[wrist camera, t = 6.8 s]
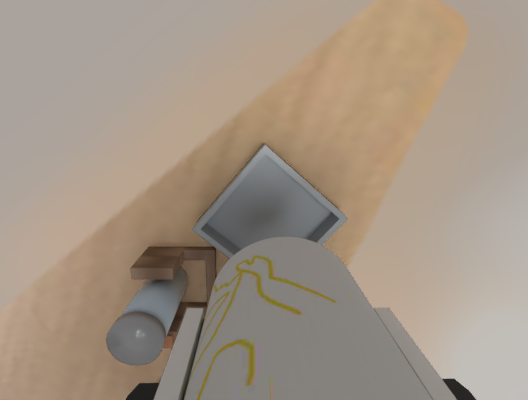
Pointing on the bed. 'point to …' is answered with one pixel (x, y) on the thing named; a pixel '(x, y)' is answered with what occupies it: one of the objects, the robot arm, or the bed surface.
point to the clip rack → (166, 266)
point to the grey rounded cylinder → (147, 320)
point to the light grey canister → (295, 332)
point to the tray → (267, 207)
